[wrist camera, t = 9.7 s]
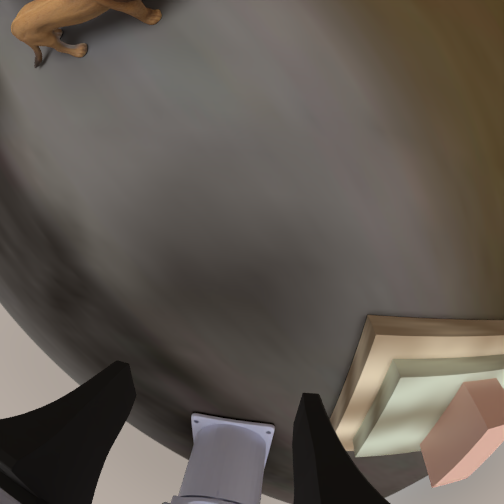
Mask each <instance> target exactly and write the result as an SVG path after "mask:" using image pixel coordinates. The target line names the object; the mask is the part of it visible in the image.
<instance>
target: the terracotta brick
mask: <svg viewBox="0 0 504 504" xmlns="http://www.w3.org/2000/svg"><path fill="white" fill-rule="evenodd" d="M503 441H504V389H503V387H502V386H501V384H500V383H499V381H498V380H497V378H492V379H485V380H477V381H468V382H463V383H462V385H461V387H460V388H459V390H458V391H457V393H456V395H455V396H454V398H453V399H452V401H451V402H450V404H449V405H448V407H447V408H446V410H445V411H444V413H443V414H442V416H441V417H440V418H439V420H438V421H437V423H436V424H435V425H434V427H433V428H432V429H431V431H430V432H429V433H428V435H427V436H426V437H425V439H424V440H423V441H422V442H421V444H420V448H421V451H422V454H423V458H424V461H425V464H426V468H427V471H428V475H429V479H430V482H431V486H432V488H433V487H437V486H441V485H445V484H448V483H453V482H456V481H459V480H463V479H466V478H467V477H469V476H470V475H471V474H472V473H473V472H474V471H475V470H476V469H477V468H478V467H479V466H480V465H481V464H482V463H483V462H484V461H485V460H486V459H487V458H488V457H489V456H490V455H491V454H492V453H493V452H494V451H495V450H496V449H497V448H498V446H499V445H500V444H501V443H502V442H503Z"/></svg>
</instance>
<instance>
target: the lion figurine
mask: <svg viewBox="0 0 504 504" xmlns="http://www.w3.org/2000/svg"><path fill="white" fill-rule="evenodd" d="M110 8H111V9H114V10H117V11H121V12H124V13H126V14H129V15H131V16H133V17H135V18H137V19H139V20H140V21H142V22H144V23H147V24H150V25H153V24H156V23H157V22H158V21H159V20H160V19H161V17H162V14H161V12H160V10H158V9H156V10H152V9H150V8H145V5H144V4H143V2H142V0H35V1H32V2H30V3H28V4H27V5H25V6H24V7H23V8H22V9H21V10H20V12H19V13H18V14H17V16H16V18H15V19H14V21H13V22H12V25H11V32H12V34H13V35H14V36H15V37H17V38H18V39H19V40H20V41H23V42H25V43H26V44H27V45H29V46H30V47H31V48H32V49H33V50H34V52H35V56H36V57H35V65H34V67H35V68H37V67H38V66H39V65H40V64H41V63H42V53H41V50H40V48H39V46H47V47H52V48H55V49H56V50H57V51H58V52H63V53H68V54H70V55H73V56H75V57H83V56H84V55H85V54H86V52H87V45H86V44H85V43H80V44H77V45H69V44H66V43H64V42H62V41H61V40H60V37H61V35H62V30H61V29H56V28H59V27H64V26H71V25H76V24H81V23H83V22H86V21H89V20H91V19H93V18H96V17H97V16H99V15H101V14H102V13H104V12H106V11H107V10H109V9H110Z"/></svg>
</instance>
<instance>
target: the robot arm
mask: <svg viewBox="0 0 504 504" xmlns="http://www.w3.org/2000/svg"><path fill="white" fill-rule="evenodd" d="M135 398H136V392H135V388H134V384H133V379H132V375H131V371H130V366H129V364H128V363H124V362H121V361H115V362H114V363H112V364H111V365H110V366H108V367H107V368H105V369H104V370H103V371H101V372H100V373H98V374H97V375H96V376H94V377H93V378H91V379H90V380H88V381H87V382H85V383H84V384H83V385H81V386H80V387H78V388H76V389H75V390H74V391H72V392H70V393H68V394H67V395H65V396H63V397H62V398H60V399H58V400H56V401H54V402H52V403H50V404H48V405H46V406H43V407H41V408H38V409H36V410H33V411H30V412H28V413H25V414H21V415H18V416H14V417H10V418H5V419H0V504H92V500H93V496H94V492H95V488H96V485H97V482H98V479H99V476H100V473H101V470H102V468H103V465H104V462H105V460H106V457H107V455H108V453H109V451H110V449H111V447H112V445H113V443H114V441H115V439H116V438H117V436H118V434H119V432H120V431H121V429H122V427H123V425H124V423H125V421H126V420H127V418H128V416H129V414H130V411H131V409H132V406H133V403H134V401H135ZM191 422H192V432H193V441H194V445H193V449H192V452H191V455H190V459H189V462H188V465H187V468H186V472H185V475H184V478H183V482H182V485H181V489H180V491H179V495H178V496H173V498H172V501H171V503H167V502H164V503H162V504H260V500H261V491H262V482H263V473H264V468H265V464H266V461H267V457H268V453H269V449H270V446H271V442H272V438H273V434H274V430H275V426H274V425H272V424H264V423H255V422H247V421H240V420H233V419H226V418H220V417H214V416H209V415H203V414H198V413H193V414H192V416H191ZM292 448H293V469H294V504H390V503H389V502H388V501H387V500H386V499H385V498H383V497H382V496H381V495H380V493H379V492H378V491H377V490H376V489H375V488H374V487H373V486H372V485H371V484H370V483H369V482H368V481H367V479H366V478H365V477H364V476H363V474H362V473H361V472H360V471H359V469H358V468H357V467H356V465H355V464H354V462H353V461H352V459H351V458H350V456H349V455H348V453H347V452H346V450H345V448H344V447H343V445H342V443H341V441H340V440H339V438H338V436H337V434H336V432H335V430H334V428H333V426H332V424H331V422H330V420H329V417H328V415H327V413H326V411H325V408H324V406H323V403H322V400H321V398H320V395H319V394H313V393H303V394H302V398H301V401H300V404H299V408H298V411H297V414H296V417H295V421H294V427H293V442H292Z"/></svg>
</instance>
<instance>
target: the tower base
mask: <svg viewBox="0 0 504 504" xmlns="http://www.w3.org/2000/svg"><path fill="white" fill-rule="evenodd" d="M492 378H497V380H498V381H499V383H500V384H501V386H502V387H503V389H504V320H460V319H431V318H410V317H392V316H377V315H368V316H367V319H366V322H365V326H364V329H363V332H362V335H361V338H360V341H359V344H358V347H357V350H356V353H355V356H354V359H353V362H352V364H351V367H350V370H349V373H348V375H347V378H346V381H345V383H344V386H343V388H342V391H341V394H340V396H339V399H338V401H337V403H336V406H335V408H334V411H333V413H332V415H331V418H330V422H331V424H332V426H333V428H334V430H335V432H336V434H337V436H338V438H339V440H340V441H341V443H342V445H343V447H344V448H345V450H346V451H354V453H355V457H366V456H379V455H390V454H399V453H407V452H414V451H421V448H420V444H421V442H422V441H423V440H424V439H425V437H426V436H427V435H428V433H429V432H430V431H431V429H432V428H433V427H434V425H435V424H436V423H437V421H438V420H439V418H440V417H441V416H442V414H443V413H444V411H445V410H446V408H447V407H448V405H449V404H450V402H451V401H452V399H453V398H454V396H455V395H456V393H457V391H458V390H459V388H460V387H461V385H462V383H463V382H468V381H477V380H485V379H492Z"/></svg>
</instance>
